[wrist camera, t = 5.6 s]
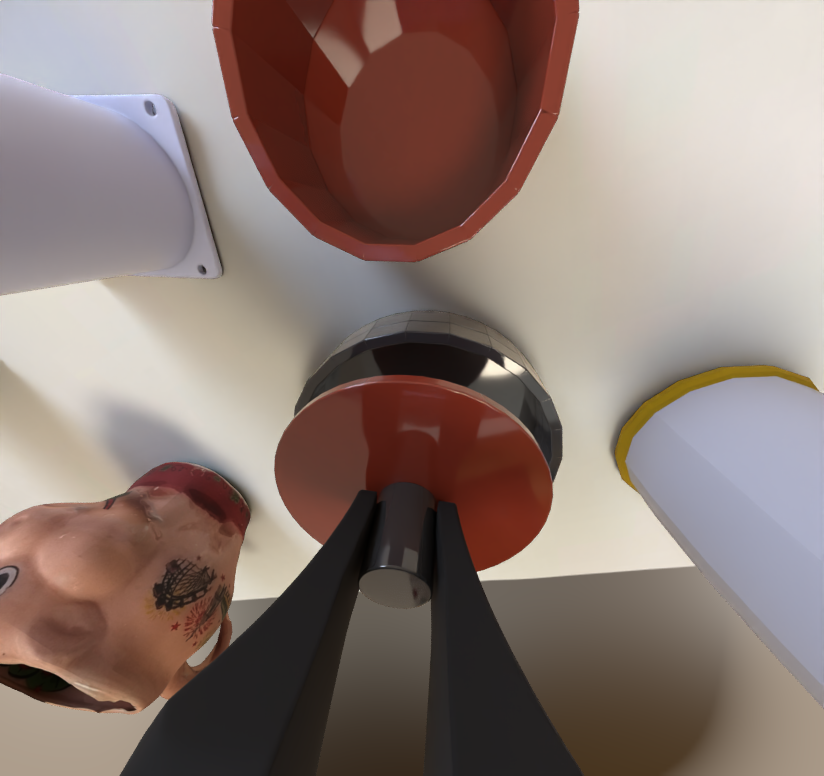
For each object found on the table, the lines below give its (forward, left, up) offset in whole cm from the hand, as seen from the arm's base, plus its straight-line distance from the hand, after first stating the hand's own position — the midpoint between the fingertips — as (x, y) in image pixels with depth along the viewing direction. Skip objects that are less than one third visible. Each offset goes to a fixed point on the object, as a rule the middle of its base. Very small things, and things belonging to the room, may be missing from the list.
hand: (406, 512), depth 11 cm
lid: (0, 0, -1) cm, 1 cm away
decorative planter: (-20, -15, -10) cm, 27 cm away
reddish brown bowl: (-1, +14, -10) cm, 17 cm away
